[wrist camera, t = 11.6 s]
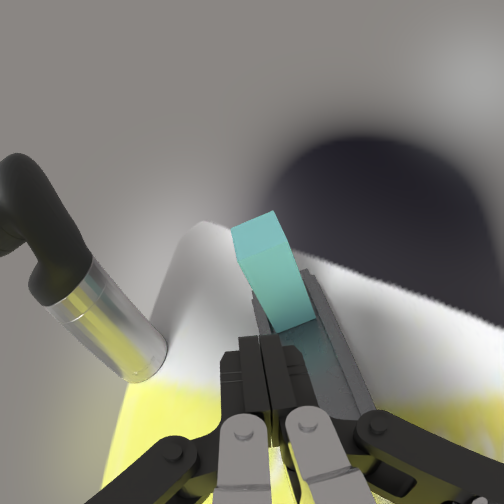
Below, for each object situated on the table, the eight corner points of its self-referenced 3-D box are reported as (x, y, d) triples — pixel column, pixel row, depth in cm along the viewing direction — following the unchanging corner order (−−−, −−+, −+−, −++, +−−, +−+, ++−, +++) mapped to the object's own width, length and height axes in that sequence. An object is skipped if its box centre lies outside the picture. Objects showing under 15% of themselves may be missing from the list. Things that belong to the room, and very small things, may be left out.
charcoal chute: (384, 434, 24) (385, 426, 22) (296, 467, 25) (288, 462, 23) (316, 281, 42) (311, 266, 41) (255, 306, 43) (247, 292, 41)
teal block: (316, 317, 36) (287, 240, 29) (276, 333, 36) (237, 261, 29) (302, 284, 41) (273, 210, 34) (266, 299, 41) (230, 228, 34)
